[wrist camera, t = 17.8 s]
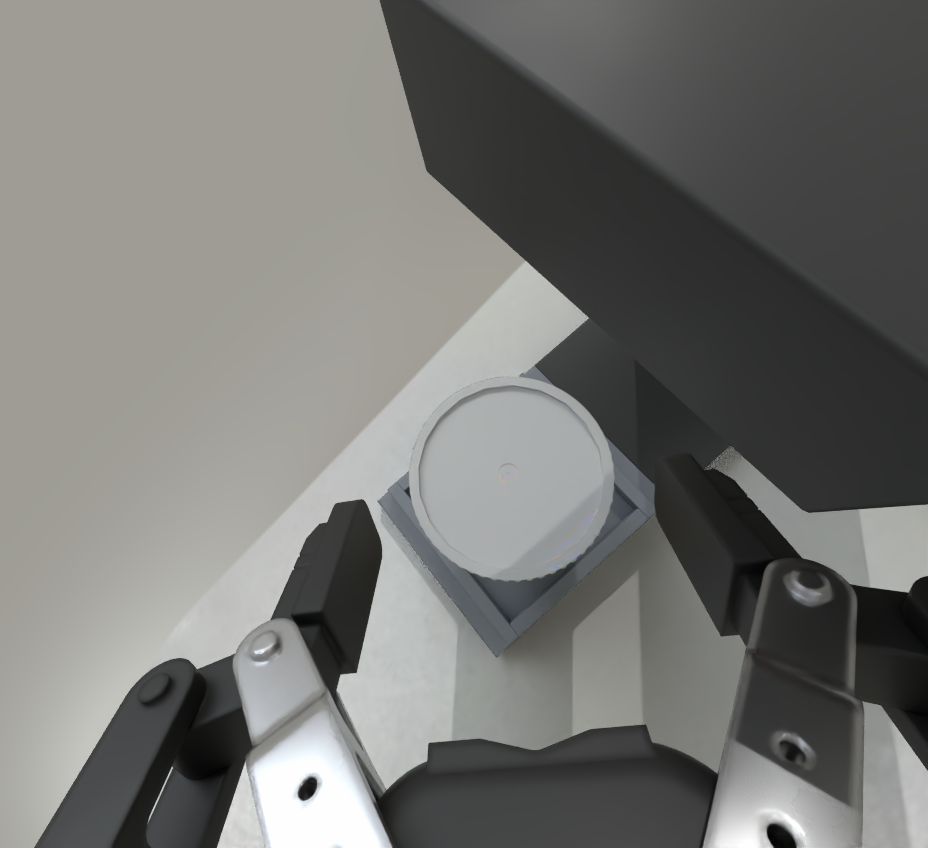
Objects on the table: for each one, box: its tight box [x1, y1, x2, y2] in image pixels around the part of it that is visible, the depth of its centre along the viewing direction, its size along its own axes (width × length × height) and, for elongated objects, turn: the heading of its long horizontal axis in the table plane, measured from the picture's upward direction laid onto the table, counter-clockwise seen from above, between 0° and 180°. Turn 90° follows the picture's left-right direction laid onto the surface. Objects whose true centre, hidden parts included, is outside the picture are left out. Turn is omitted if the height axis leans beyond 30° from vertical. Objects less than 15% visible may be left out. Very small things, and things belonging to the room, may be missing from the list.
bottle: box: [409, 377, 615, 582], centre depth 20 cm, size 7×7×15 cm
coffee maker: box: [378, 0, 928, 657], centre depth 16 cm, size 29×12×26 cm, turn 130°
